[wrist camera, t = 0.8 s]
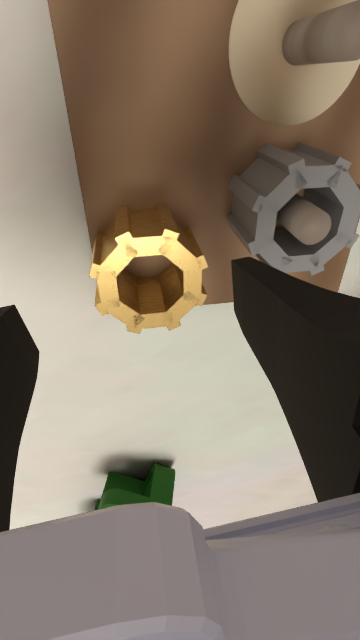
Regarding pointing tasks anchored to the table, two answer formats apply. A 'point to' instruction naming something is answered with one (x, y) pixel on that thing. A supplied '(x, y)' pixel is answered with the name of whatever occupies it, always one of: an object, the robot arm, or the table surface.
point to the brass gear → (147, 292)
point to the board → (206, 111)
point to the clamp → (138, 488)
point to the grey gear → (277, 189)
